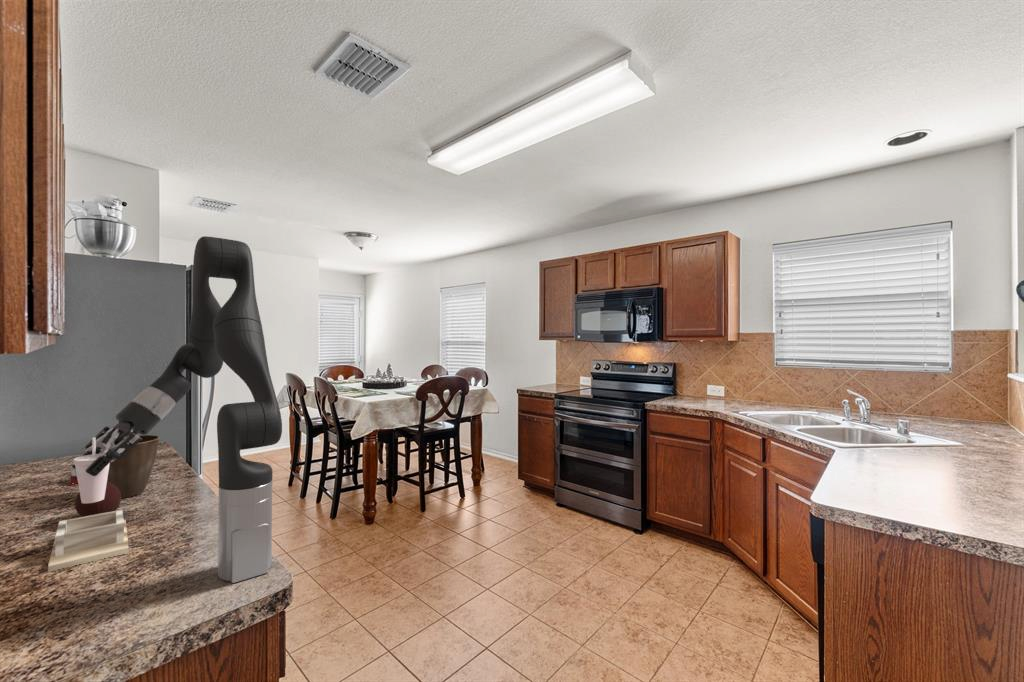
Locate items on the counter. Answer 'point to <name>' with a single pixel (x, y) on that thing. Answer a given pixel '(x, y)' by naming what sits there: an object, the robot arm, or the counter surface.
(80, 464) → the smoothie
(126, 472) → the plant pot
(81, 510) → the potato
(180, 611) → the counter surface
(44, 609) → the counter surface
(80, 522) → the dock
